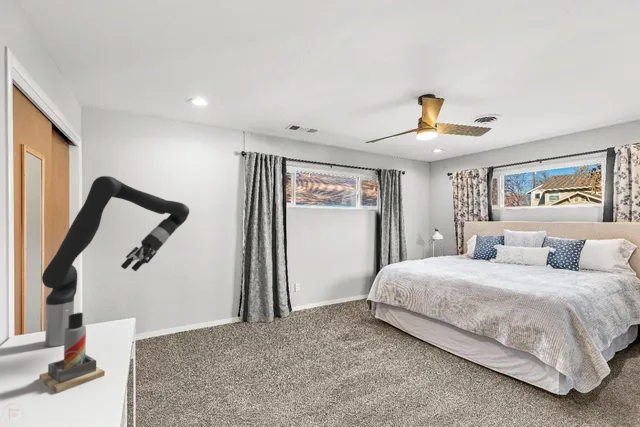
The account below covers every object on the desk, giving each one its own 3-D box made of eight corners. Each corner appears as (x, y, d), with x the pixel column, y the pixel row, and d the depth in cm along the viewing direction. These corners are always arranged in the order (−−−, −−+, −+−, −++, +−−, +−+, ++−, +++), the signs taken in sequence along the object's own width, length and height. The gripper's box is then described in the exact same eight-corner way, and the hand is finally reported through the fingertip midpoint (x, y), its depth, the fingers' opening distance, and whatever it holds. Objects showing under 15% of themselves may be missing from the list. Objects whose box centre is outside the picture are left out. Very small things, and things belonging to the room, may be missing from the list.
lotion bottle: (72, 378, 103) (73, 316, 103) (59, 376, 105) (60, 314, 105) (89, 370, 109) (90, 311, 109) (76, 368, 110) (77, 310, 110)
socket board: (39, 379, 105) (39, 363, 105) (85, 364, 116) (85, 350, 116) (57, 393, 97) (57, 376, 97) (104, 375, 108) (104, 360, 108)
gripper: (141, 232, 142) (112, 261, 132) (159, 234, 134) (130, 264, 124) (152, 244, 146) (125, 272, 136) (170, 245, 138) (143, 276, 128)
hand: (128, 268), depth 130 cm, fingers open, 8 cm apart
